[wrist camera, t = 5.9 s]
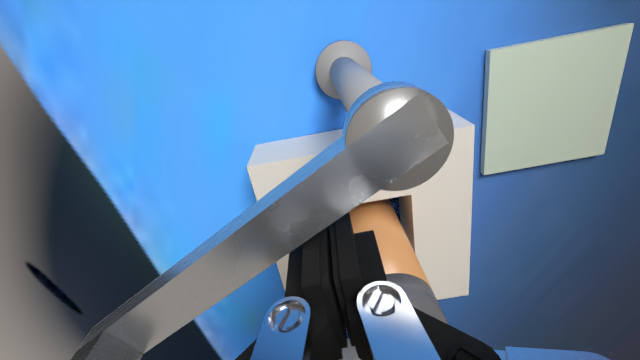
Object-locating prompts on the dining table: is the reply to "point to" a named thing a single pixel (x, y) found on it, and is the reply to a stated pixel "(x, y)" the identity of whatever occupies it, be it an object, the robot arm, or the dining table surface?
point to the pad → (551, 98)
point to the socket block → (414, 204)
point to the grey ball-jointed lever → (288, 215)
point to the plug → (396, 254)
